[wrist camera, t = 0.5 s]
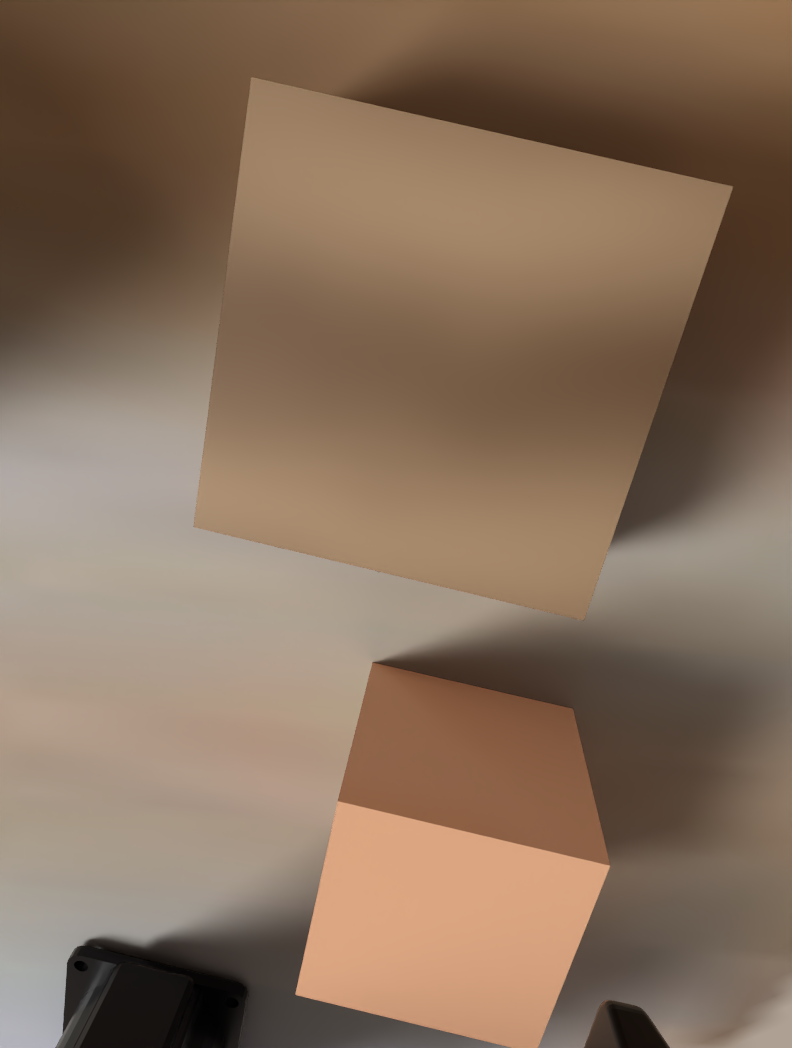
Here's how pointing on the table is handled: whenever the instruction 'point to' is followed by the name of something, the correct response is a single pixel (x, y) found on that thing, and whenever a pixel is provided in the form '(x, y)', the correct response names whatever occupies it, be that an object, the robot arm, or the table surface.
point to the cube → (456, 861)
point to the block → (442, 345)
